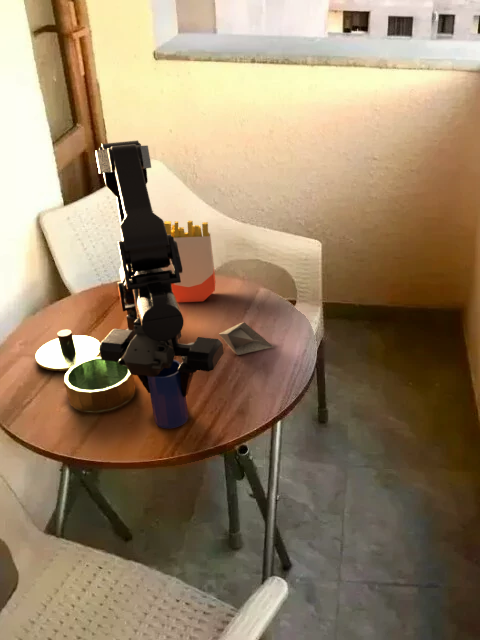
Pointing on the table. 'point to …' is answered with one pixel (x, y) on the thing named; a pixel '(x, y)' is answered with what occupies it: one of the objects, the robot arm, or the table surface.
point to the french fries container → (193, 262)
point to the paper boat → (244, 339)
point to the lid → (67, 351)
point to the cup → (168, 397)
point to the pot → (99, 386)
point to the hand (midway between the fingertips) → (167, 393)
